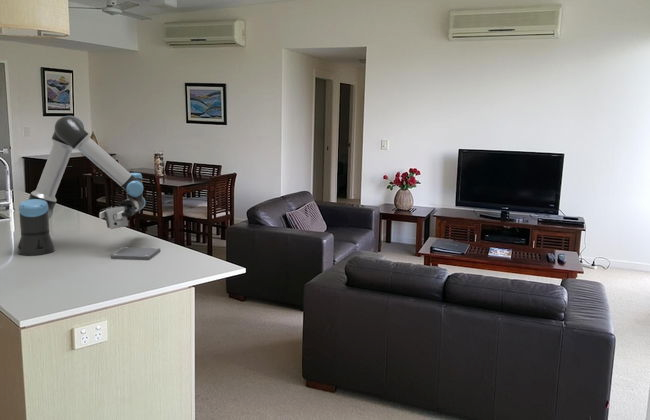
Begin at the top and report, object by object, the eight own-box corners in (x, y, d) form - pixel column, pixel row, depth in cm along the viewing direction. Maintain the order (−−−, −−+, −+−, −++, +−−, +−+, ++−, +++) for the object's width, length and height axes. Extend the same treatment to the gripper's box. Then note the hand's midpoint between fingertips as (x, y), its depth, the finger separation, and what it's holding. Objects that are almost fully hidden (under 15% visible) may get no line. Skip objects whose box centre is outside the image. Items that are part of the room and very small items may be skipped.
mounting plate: (111, 258, 248) (110, 254, 247) (124, 250, 263) (124, 246, 263) (148, 260, 247) (148, 256, 247) (160, 251, 263) (160, 247, 263)
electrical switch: (111, 229, 249) (109, 209, 248) (104, 229, 252) (101, 208, 251) (128, 226, 257) (126, 206, 256) (121, 225, 260) (119, 206, 258)
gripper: (148, 215, 271) (131, 224, 249) (107, 214, 272) (87, 223, 249) (148, 200, 270) (131, 208, 247) (107, 199, 270) (86, 207, 248)
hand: (109, 216), depth 248 cm, fingers closed on electrical switch, 7 cm apart
